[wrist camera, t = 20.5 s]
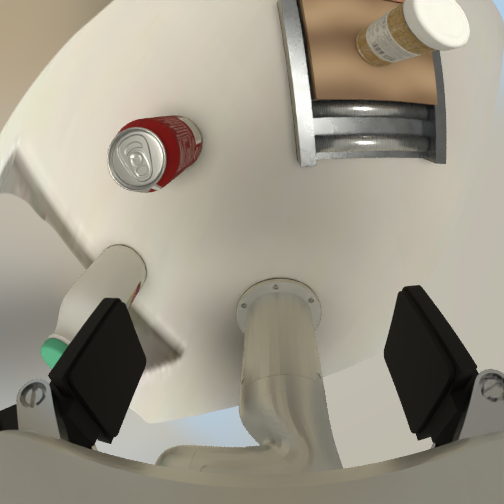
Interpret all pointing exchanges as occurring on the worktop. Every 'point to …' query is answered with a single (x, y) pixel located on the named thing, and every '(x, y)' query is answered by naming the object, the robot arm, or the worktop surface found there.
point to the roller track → (351, 122)
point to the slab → (358, 56)
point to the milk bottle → (95, 295)
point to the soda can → (153, 152)
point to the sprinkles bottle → (413, 31)
